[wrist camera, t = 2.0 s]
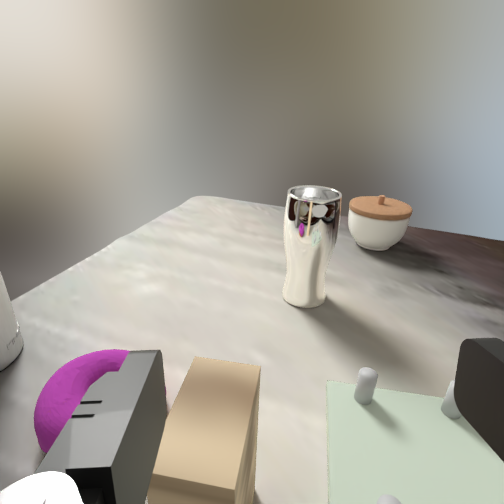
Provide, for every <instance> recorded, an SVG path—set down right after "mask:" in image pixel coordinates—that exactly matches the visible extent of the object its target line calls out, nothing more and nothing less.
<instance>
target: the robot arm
mask: <svg viewBox="0 0 504 504" xmlns="http://www.w3.org/2000/svg"><path fill="white" fill-rule="evenodd" d="M22 347H23V339H22V336H21V332H20V327H19V325H18V322H17V320H16V317H15V314H14V311H13V308H12V305H11V302H10V299H9V296H8V293H7V290H6V287H5V284H4V281H3V278H2V275H1V272H0V371H1V370H3V369H4V368H6V367H7V366H8V365H9V364H10V363H11V362H12V361H14V360H15V358H16V357H17V356H18V355H19V353H20V351H21V349H22ZM454 399H455V403H456V405H457V408H458V410H459V412H460V413H461V414H462V416H463V417H464V418H465V419H466V420H467V421H468V423H469V424H470V425H471V426H472V427H473V428H474V429H475V430H476V432H477V433H478V434H479V435H480V436H481V437H482V438H483V439H484V441H485V442H486V443H487V444H488V445H489V446H490V447H491V448H492V450H493V451H494V452H495V453H496V454H497V455H498V456H499V458H500V459H501V460H502V461H503V462H504V342H503V341H502V340H500V339H498V338H476V339H466V340H464V341H463V342H462V344H461V346H460V352H459V358H458V364H457V371H456V377H455V384H454ZM166 409H167V405H166V391H165V381H164V370H163V359H162V353H161V351H160V350H141V351H130V352H129V353H128V355H127V357H126V358H125V360H124V362H123V364H122V366H121V368H120V369H119V371H117V372H107V373H105V374H104V375H103V376H102V377H100V378H99V379H98V380H97V381H95V382H94V383H93V384H92V385H90V387H89V388H88V390H87V392H86V393H85V395H84V396H83V398H82V399H81V401H80V404H79V405H78V406H77V407H76V409H75V410H74V412H73V414H72V417H71V419H69V420H68V421H67V423H66V424H65V426H64V428H63V429H62V431H61V432H60V434H59V435H58V437H57V439H56V440H55V442H54V443H53V445H52V446H51V448H50V450H49V451H48V453H47V454H46V456H45V457H44V459H43V461H42V462H41V464H40V465H39V467H38V468H37V470H36V471H35V473H34V475H32V476H28V477H26V478H24V479H21V480H19V481H17V482H15V483H14V484H12V485H10V486H8V487H7V488H5V489H4V490H2V491H1V492H0V504H145V500H146V496H147V492H148V489H149V485H150V481H151V477H152V473H153V469H154V466H155V462H156V458H157V454H158V450H159V447H160V443H161V439H162V435H163V431H164V427H165V422H166Z"/></svg>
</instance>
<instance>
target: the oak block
mask: <svg viewBox="0 0 504 504" xmlns="http://www.w3.org/2000/svg"><path fill="white" fill-rule="evenodd" d="M260 368H261V366H256V365H249V364H243V363H236V362H229V361H222V360H216V359H209V358H202V357H195V358H194V360H193V362H192V364H191V366H190V369H189V371H188V373H187V375H186V377H185V379H184V382H183V384H182V386H181V388H180V390H179V393H178V395H177V397H176V399H175V401H174V404H173V406H172V408H171V410H170V412H169V414H168V417H167V419H166V422H165V427H164V431H163V435H162V439H161V443H160V447H159V450H158V454H157V458H156V462H155V466H154V469H153V473H152V477H151V481H150V485H149V489H148V492H147V498H148V504H252V501H253V495H254V489H255V470H256V450H257V429H258V409H259V389H260Z"/></svg>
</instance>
